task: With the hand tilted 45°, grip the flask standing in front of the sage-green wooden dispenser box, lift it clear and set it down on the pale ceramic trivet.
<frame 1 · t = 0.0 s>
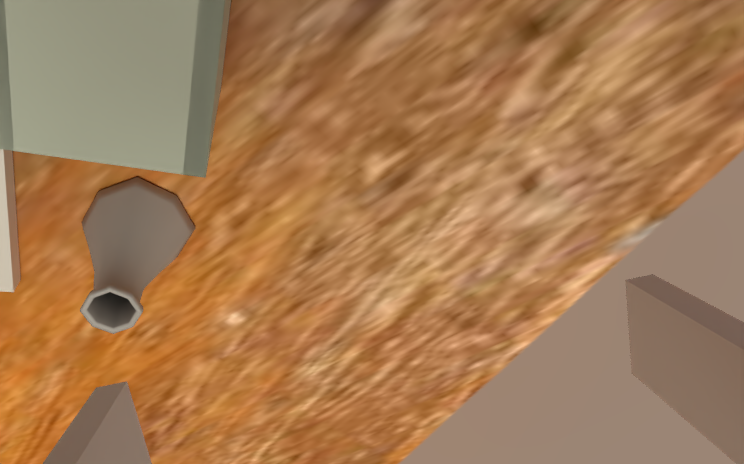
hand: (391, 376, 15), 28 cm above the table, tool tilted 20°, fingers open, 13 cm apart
flask: (140, 221, 43), on the table
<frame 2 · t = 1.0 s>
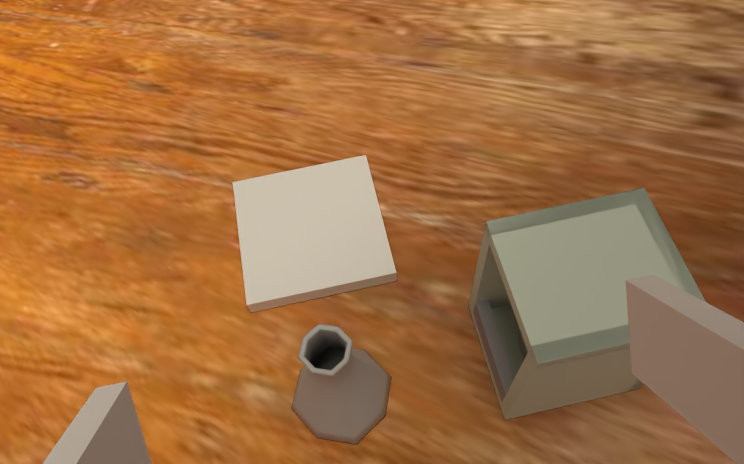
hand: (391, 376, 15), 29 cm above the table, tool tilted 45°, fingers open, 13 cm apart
dispenser box: (549, 345, 45), on the table
trivet: (312, 234, 51), on the table
flask: (342, 394, 45), on the table
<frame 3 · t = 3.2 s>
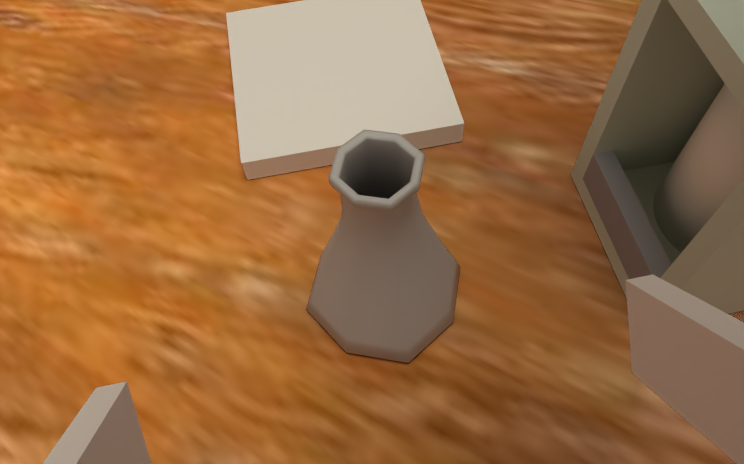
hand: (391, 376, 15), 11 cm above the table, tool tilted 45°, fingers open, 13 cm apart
dispenser box: (699, 228, 30), on the table
trivet: (338, 82, 36), on the table
flask: (384, 292, 29), on the table
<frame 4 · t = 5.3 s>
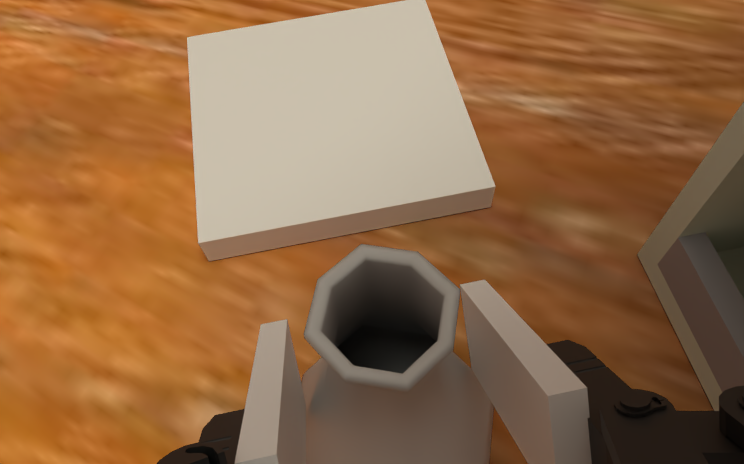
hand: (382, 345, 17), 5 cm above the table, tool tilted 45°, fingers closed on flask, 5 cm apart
trivet: (329, 126, 28), on the table
flask: (391, 426, 21), on the table, touching gripper
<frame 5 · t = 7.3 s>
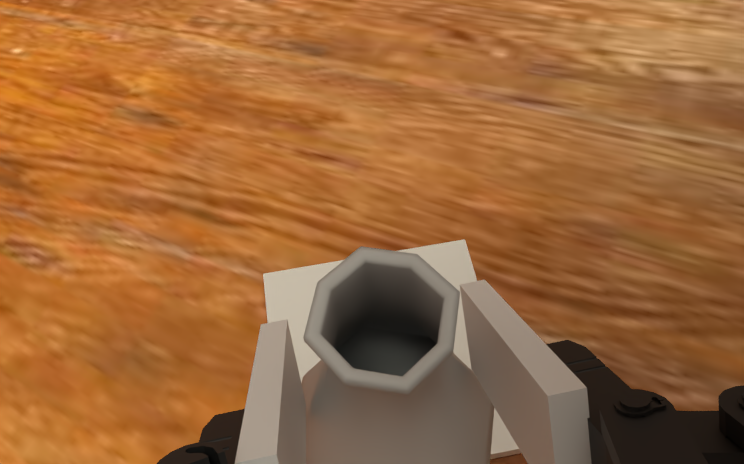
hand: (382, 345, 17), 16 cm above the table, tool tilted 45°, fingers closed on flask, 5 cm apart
trivet: (384, 362, 33), on the table
flask: (391, 428, 21), point 11 cm above the table, touching gripper
when the fingers open (7 cm above the table, at t = 9.6 s): flask drops 1 cm, resting on trivet.
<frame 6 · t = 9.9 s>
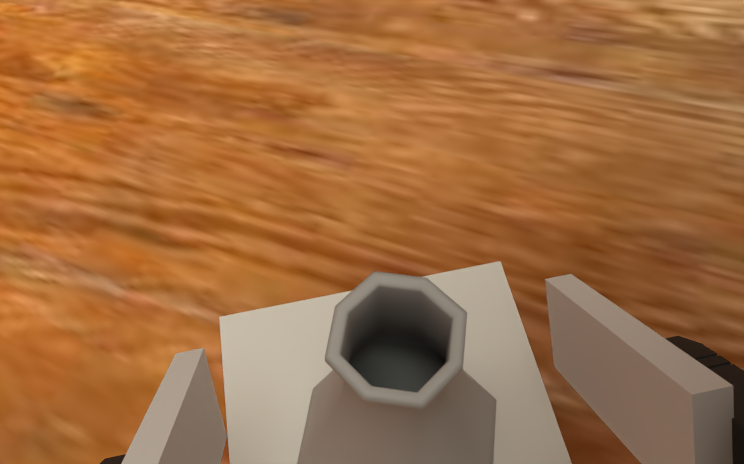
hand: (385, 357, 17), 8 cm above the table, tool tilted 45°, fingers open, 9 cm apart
trivet: (392, 441, 23), on the table
flask: (398, 435, 22), point 1 cm above the table, touching trivet
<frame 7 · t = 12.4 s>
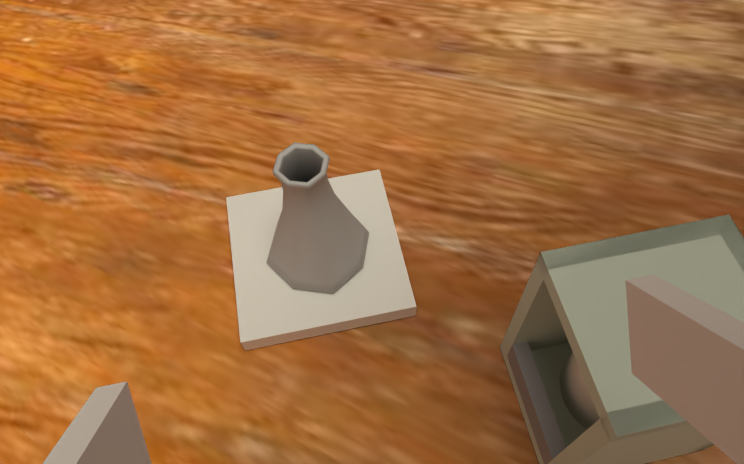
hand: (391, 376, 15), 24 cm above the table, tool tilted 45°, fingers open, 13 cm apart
dispenser box: (596, 396, 39), on the table
trivet: (317, 258, 44), on the table
flask: (319, 250, 43), point 1 cm above the table, touching trivet
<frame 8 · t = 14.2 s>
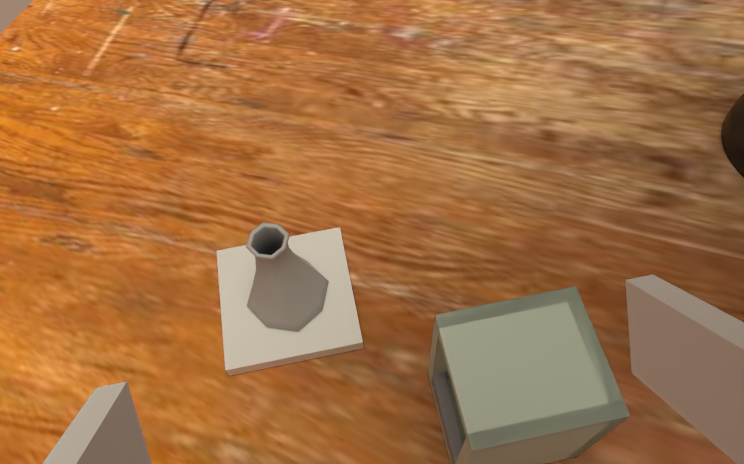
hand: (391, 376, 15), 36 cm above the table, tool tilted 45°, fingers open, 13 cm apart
dispenser box: (499, 413, 50), on the table
trivet: (288, 301, 56), on the table
flask: (288, 295, 55), point 1 cm above the table, touching trivet
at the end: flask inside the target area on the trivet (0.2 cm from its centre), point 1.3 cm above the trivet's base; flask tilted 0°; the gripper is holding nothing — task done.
